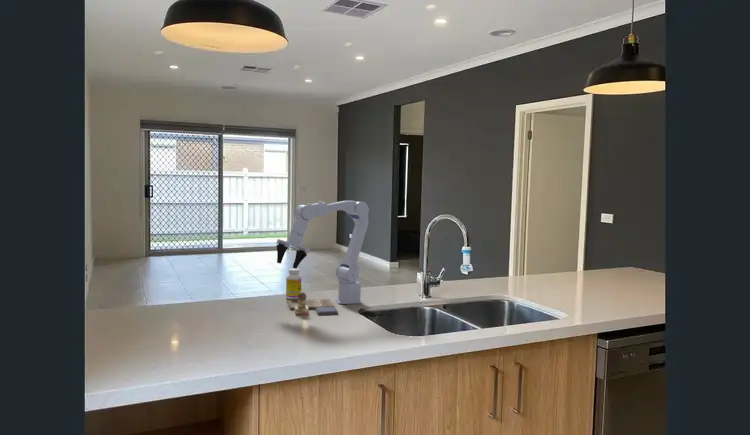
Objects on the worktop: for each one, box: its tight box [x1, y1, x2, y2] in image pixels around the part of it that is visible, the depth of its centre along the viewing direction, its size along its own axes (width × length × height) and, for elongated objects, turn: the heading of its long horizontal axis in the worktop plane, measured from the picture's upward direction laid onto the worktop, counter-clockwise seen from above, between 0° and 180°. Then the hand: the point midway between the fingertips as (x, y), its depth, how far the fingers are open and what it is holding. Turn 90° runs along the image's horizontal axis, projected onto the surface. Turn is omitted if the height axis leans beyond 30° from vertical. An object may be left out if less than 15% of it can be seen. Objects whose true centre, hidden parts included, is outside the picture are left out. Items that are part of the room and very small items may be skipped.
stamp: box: [294, 291, 309, 316], centre depth 211 cm, size 5×5×8 cm
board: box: [287, 298, 336, 311], centre depth 224 cm, size 18×13×1 cm
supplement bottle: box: [285, 268, 302, 300], centre depth 236 cm, size 7×7×13 cm
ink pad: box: [314, 306, 339, 316], centre depth 214 cm, size 8×8×1 cm
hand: (286, 265), depth 214 cm, fingers open, 7 cm apart
